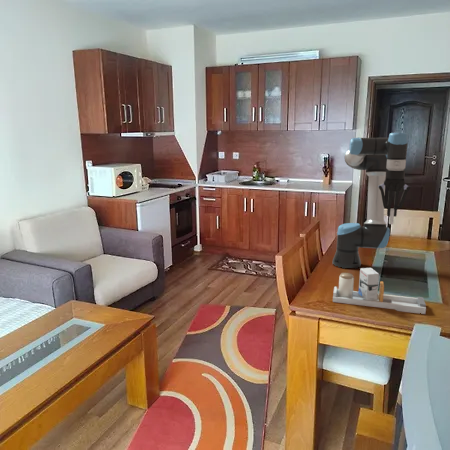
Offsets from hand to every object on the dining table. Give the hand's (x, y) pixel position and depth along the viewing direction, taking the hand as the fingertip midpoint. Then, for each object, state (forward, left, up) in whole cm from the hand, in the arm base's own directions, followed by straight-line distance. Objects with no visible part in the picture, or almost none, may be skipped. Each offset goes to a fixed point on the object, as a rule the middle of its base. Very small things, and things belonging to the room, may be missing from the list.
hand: (390, 223), depth 174 cm
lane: (+14, -4, -32) cm, 36 cm away
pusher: (+14, -1, -32) cm, 35 cm away
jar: (+14, -17, -32) cm, 39 cm away
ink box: (+14, -8, -30) cm, 34 cm away
